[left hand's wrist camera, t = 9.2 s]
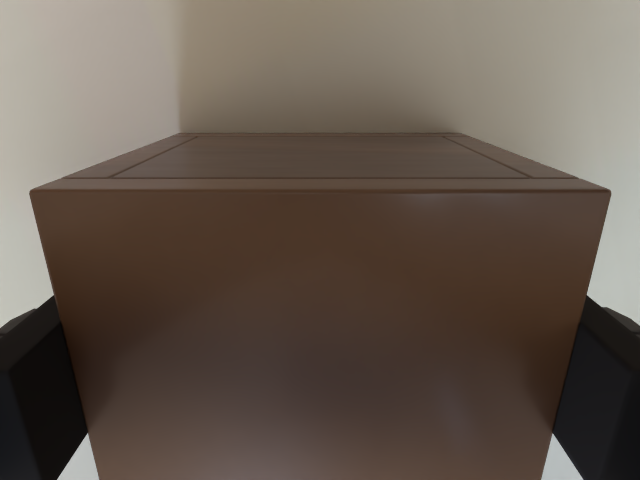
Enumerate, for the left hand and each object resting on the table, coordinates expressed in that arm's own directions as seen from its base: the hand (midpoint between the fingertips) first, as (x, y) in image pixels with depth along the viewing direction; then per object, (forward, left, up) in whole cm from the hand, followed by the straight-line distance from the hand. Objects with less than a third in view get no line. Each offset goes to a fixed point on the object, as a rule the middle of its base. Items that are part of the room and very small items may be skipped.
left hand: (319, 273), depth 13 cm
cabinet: (+7, -2, -3) cm, 8 cm away
